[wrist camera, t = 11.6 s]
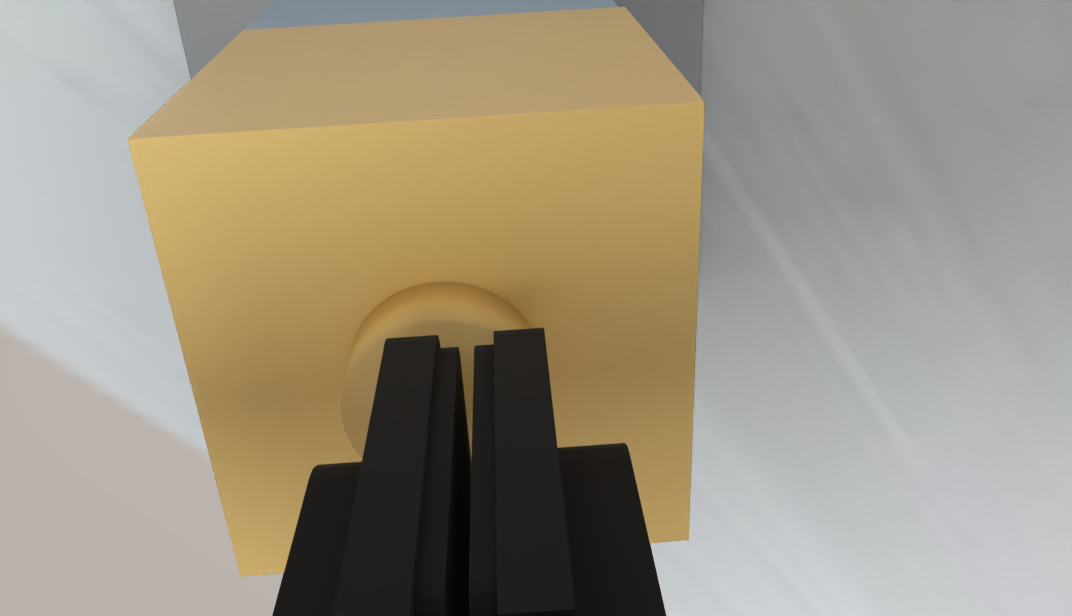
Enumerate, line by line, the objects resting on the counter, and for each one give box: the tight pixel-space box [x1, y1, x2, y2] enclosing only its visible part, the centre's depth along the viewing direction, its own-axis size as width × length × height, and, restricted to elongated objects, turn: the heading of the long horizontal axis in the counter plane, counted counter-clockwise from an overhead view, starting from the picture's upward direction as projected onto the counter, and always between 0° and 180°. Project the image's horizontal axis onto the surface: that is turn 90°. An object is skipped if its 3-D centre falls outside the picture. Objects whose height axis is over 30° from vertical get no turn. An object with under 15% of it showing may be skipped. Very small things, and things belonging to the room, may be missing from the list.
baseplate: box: [173, 0, 703, 96], centre depth 23 cm, size 12×12×2 cm
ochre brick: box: [128, 7, 705, 577], centre depth 14 cm, size 6×6×7 cm
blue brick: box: [244, 0, 618, 30], centre depth 19 cm, size 6×6×7 cm
